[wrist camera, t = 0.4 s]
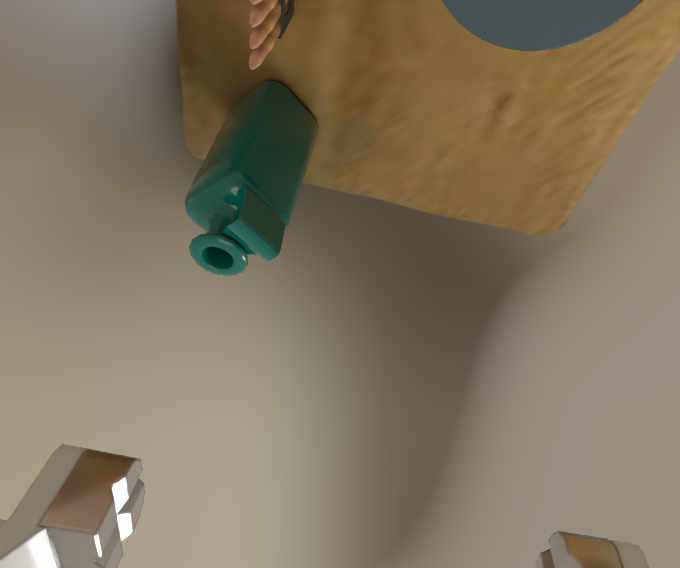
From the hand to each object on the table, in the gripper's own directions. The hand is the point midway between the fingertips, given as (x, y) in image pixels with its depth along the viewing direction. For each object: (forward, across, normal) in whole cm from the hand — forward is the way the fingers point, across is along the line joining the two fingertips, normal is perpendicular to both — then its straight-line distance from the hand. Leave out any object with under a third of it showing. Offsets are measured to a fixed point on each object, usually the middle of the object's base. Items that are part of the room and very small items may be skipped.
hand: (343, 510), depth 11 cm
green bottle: (+55, +11, +10) cm, 57 cm away
